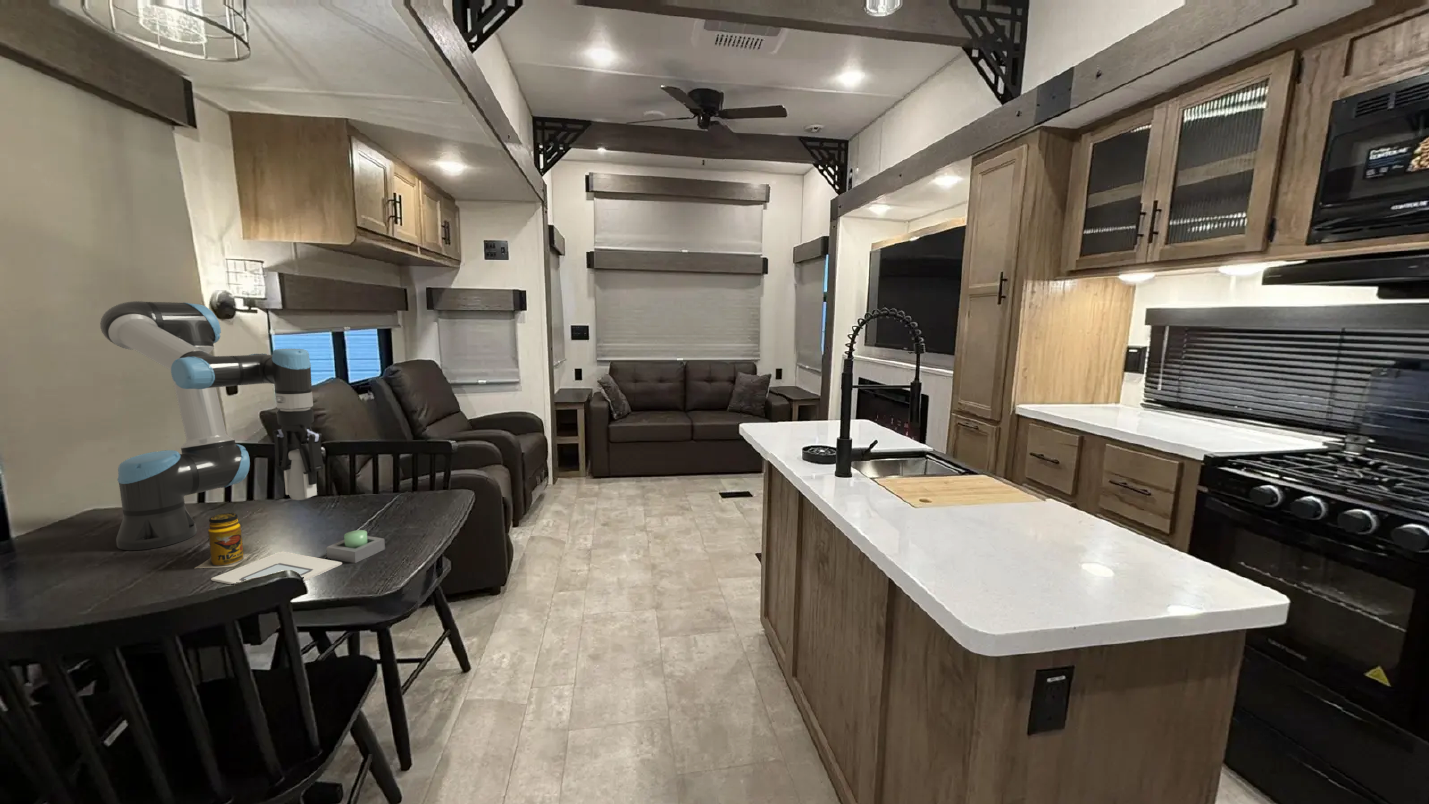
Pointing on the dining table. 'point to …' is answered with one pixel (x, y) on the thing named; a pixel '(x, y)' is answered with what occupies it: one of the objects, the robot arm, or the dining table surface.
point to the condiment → (224, 542)
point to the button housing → (355, 550)
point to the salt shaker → (296, 476)
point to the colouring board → (279, 567)
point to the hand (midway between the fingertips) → (301, 494)
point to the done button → (355, 539)
